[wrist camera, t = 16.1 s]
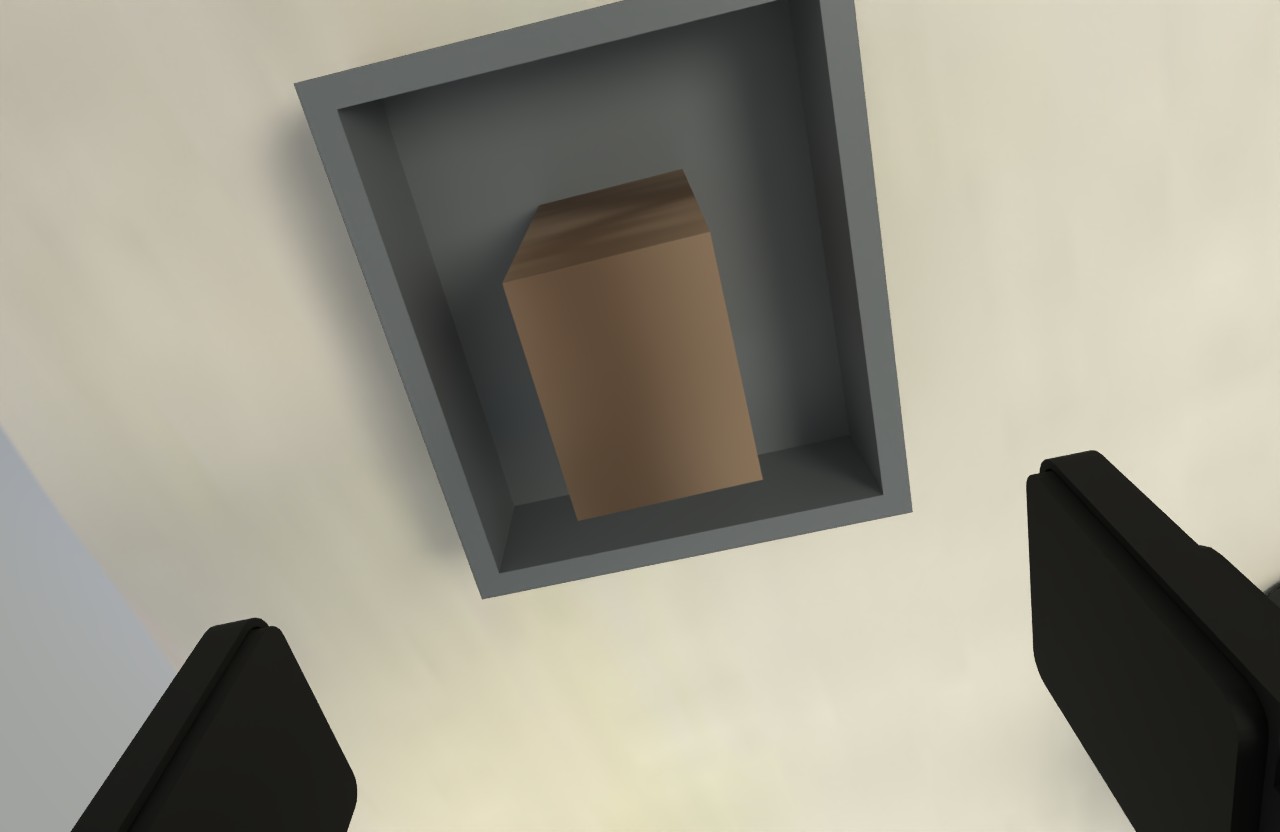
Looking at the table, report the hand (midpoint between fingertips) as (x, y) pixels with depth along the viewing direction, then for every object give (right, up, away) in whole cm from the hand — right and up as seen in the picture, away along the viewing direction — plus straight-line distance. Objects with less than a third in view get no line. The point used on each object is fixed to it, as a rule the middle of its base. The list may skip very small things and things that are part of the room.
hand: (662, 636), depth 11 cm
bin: (0, +7, +18) cm, 19 cm away
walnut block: (0, +7, +17) cm, 18 cm away
